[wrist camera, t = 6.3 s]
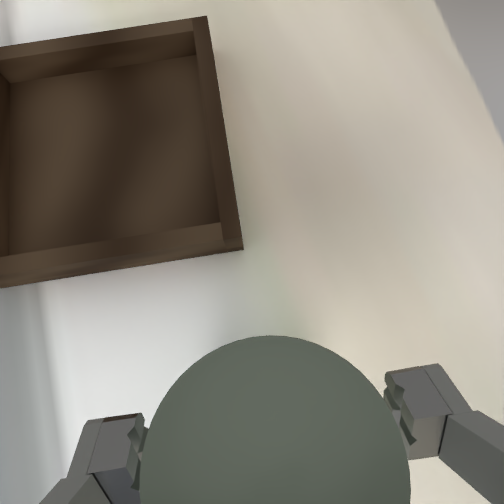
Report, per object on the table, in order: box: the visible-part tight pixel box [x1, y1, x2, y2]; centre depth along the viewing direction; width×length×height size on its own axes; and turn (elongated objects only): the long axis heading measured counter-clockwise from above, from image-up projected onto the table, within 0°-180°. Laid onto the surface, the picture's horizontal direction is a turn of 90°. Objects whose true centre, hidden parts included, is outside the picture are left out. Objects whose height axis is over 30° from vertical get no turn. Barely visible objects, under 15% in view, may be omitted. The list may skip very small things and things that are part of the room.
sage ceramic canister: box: [140, 336, 411, 504], centre depth 12 cm, size 5×5×10 cm
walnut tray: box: [0, 16, 244, 288], centre depth 19 cm, size 12×12×2 cm
